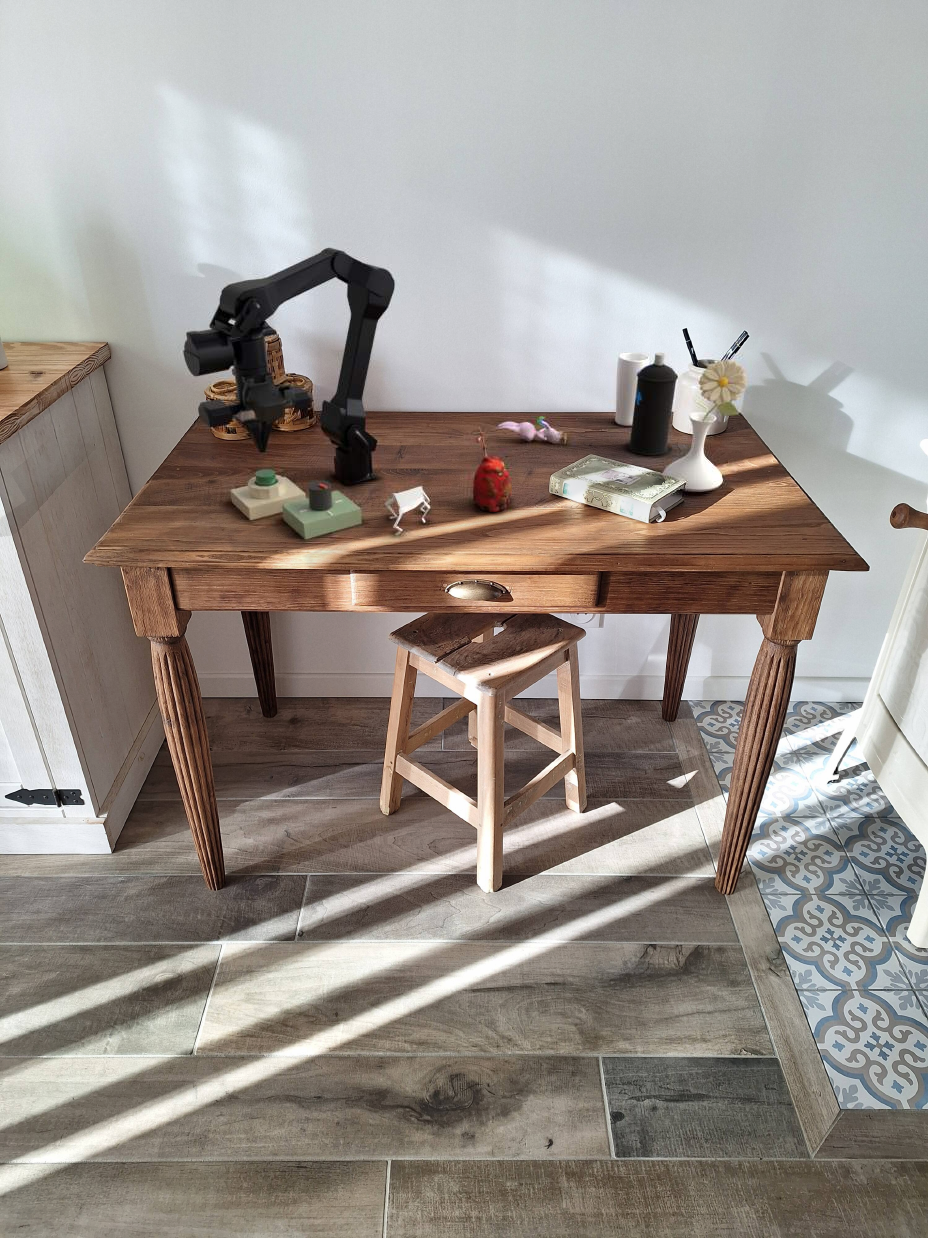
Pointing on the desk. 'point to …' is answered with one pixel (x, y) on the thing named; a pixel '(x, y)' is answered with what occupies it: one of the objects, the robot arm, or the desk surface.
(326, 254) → the robot arm
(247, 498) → the button base
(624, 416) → the white cylindrical vase
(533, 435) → the rabbit figure
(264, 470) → the green button cap
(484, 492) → the red clay folk toy
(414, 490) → the white block with legs
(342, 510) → the console
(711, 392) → the flower in vase
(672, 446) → the desk surface
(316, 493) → the dial
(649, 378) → the aerosol can
